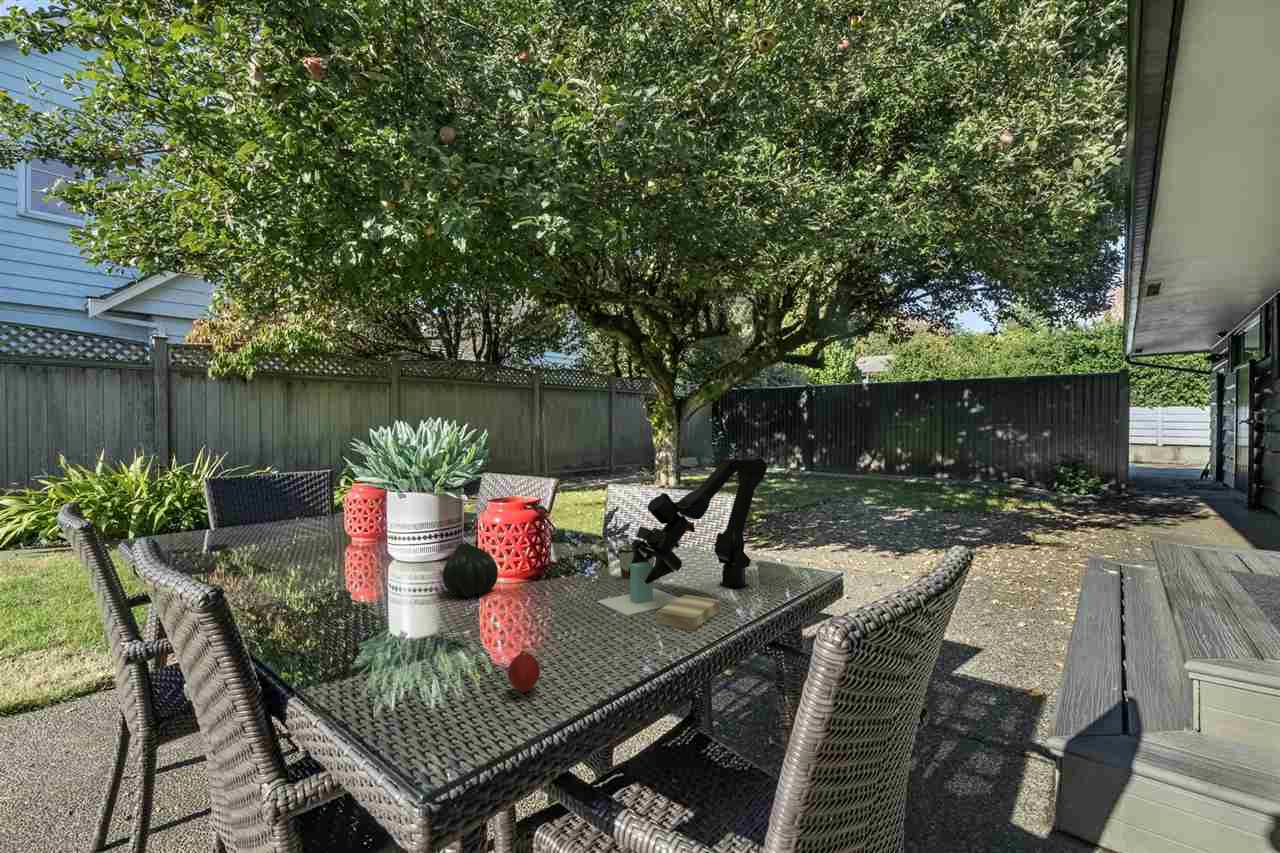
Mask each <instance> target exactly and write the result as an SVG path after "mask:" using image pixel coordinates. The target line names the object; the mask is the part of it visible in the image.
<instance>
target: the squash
mask: <svg viewBox="0 0 1280 853" xmlns="http://www.w3.org/2000/svg"><path fill="white" fill-rule="evenodd" d="M498 575H499V572H498V566H497V563H496V561H495V559H494V558H493V556H492V555H491V554H490V553H489V552H487V551H486V550H484V549H482V548H479V547H477V546H474V545H473V544H472V545H471V544H468V543H462V542H461V543H459V544H458V545H457V546H456V548H455V550H454V551H453V553H452V554H451V555H450V557H449V559H448V561H447V562H446V563H445V566H444V567H443V571H442V582H443V585H444V587H445V588H446V590H448V591H449V592H450V593H452V594H453V595H455V597H458V598H460V597H461V596H463V597H466V598H471V597H473V596H475V594H482V593H487V592H488V591H491V589H493V588H494V587H495V586H496V583H497V581H498ZM486 591H487V592H486ZM461 598H462V597H461Z"/></svg>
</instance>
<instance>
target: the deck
mask: <svg viewBox="0 0 1280 853" xmlns="http://www.w3.org/2000/svg"><path fill="white" fill-rule="evenodd" d="M718 613H720V599H714V598H708V597H701V596H697V595H690V594H683V595H681V596H680V597H679V598H678V599H676V600H675V601H673V602H671V603H670V604H668V605H666V606H665V607H663V608H659V609H657V610H656V624H658V625H662V626H667V627H668V626H669V627H673V628H679V629H683V630H688V631H693V632H695V631H696V630H697V629H699V626H700V627H701V626H703V625H704V624H705V623H706V622H708V621H709V620H710V619H711V617H712V618H713V617H714V616H716V615H717V614H718ZM715 614H716V615H715ZM707 620H708V621H707ZM703 623H704V624H703ZM695 629H696V630H695Z"/></svg>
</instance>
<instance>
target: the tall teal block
mask: <svg viewBox="0 0 1280 853" xmlns="http://www.w3.org/2000/svg"><path fill="white" fill-rule="evenodd" d="M653 567H654V565H653V564H650V563H648V562H641V563H634V564H630V581H629V582H630V584H629V586H630V587H629V588H630V589H629V594H630V601H632V602H634V603H636V604H639V603H645V602H650V601H653V589H654V588H653V586H654V584H653V583H654V581H653V582H651V583H649V584H646V583H645V580H646V578H647V576H648V575H649V573H650V572H651V570H652V568H653Z"/></svg>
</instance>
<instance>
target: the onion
mask: <svg viewBox="0 0 1280 853" xmlns="http://www.w3.org/2000/svg"><path fill="white" fill-rule="evenodd" d="M540 674H541V669H540V665H539V662H538V660H537V658H535V657H534V656H533V654H531V653H529V652H528V651H527V650H526V649H522V650H521V651H520V652H519V654H517V655H516V656H515V657H514V658H513V659H512V660H511V661H510V663H509V667H508V671H507V677H508V681H509V683H510V684H511V686H513V687H514V688H515V689H517V690H519V691H520V692H521V693H526V692H528V691H529V690H530V689H532V688H534V686H535V685H536V684H537V682H538V681H539V678H540Z"/></svg>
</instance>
